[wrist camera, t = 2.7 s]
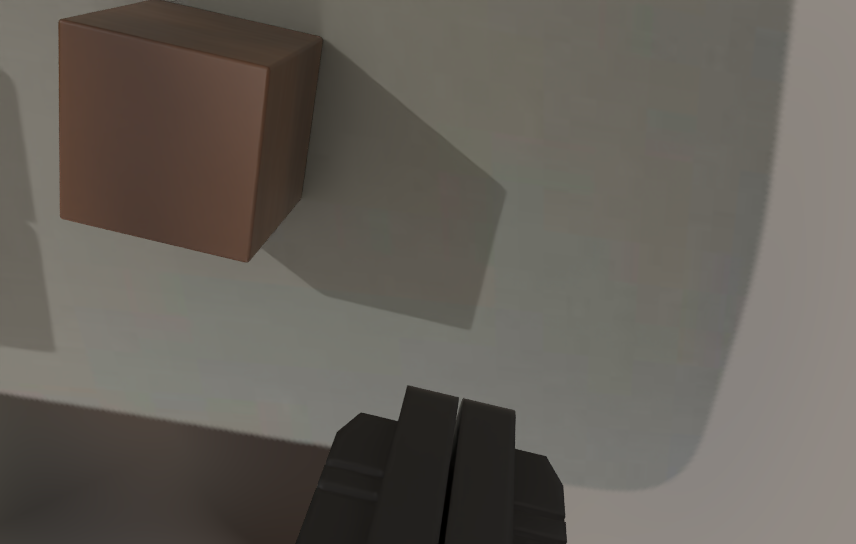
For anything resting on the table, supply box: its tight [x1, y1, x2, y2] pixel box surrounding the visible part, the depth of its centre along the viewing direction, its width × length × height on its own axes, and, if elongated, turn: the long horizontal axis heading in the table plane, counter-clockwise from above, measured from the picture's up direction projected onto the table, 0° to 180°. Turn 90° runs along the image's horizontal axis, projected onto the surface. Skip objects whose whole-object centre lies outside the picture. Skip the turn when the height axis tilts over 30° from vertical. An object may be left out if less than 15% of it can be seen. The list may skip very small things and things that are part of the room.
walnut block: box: [59, 0, 323, 262], centre depth 21 cm, size 5×5×5 cm
